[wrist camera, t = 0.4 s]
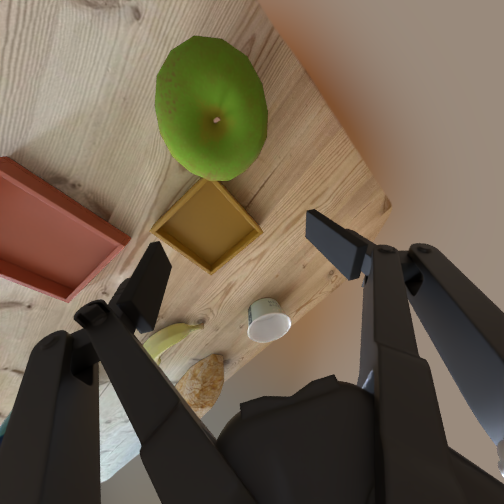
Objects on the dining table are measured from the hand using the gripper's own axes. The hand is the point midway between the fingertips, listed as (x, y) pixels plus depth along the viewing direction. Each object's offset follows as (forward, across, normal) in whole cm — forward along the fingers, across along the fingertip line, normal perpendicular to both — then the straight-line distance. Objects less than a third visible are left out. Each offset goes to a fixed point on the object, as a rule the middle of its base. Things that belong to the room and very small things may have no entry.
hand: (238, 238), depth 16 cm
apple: (+20, 0, +9) cm, 22 cm away
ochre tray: (+20, -4, -6) cm, 21 cm away
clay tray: (+20, -31, -3) cm, 37 cm away
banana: (+20, -23, -38) cm, 48 cm away
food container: (+20, +4, -35) cm, 41 cm away
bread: (+19, -25, -65) cm, 73 cm away
